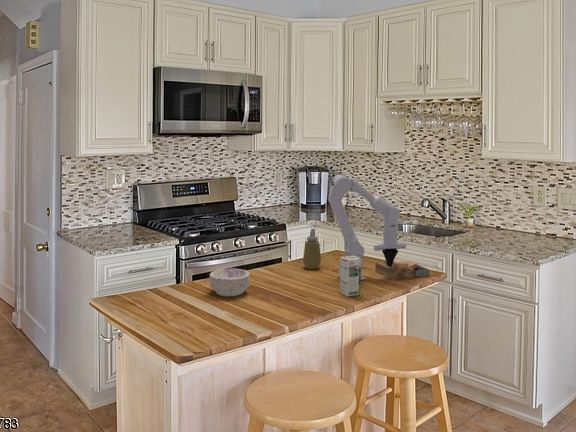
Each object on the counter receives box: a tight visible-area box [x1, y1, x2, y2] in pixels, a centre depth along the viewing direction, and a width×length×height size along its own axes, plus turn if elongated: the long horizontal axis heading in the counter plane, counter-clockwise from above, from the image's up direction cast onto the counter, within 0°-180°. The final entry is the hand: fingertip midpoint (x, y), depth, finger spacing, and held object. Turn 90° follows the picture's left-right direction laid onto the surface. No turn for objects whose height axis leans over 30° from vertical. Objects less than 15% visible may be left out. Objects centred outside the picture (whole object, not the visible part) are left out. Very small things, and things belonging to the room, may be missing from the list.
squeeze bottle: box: [302, 228, 322, 271], centre depth 256 cm, size 8×8×18 cm
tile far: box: [406, 260, 418, 269], centre depth 255 cm, size 5×5×2 cm
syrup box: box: [339, 255, 362, 298], centre depth 218 cm, size 6×6×14 cm
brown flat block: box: [375, 260, 415, 281], centre depth 248 cm, size 10×15×4 cm, turn 21°
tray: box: [404, 261, 430, 279], centre depth 252 cm, size 7×15×3 cm, turn 21°
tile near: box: [392, 260, 409, 269], centre depth 246 cm, size 5×5×2 cm
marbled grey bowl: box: [209, 268, 251, 297], centre depth 218 cm, size 15×15×8 cm
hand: (389, 266), depth 244 cm, fingers closed
